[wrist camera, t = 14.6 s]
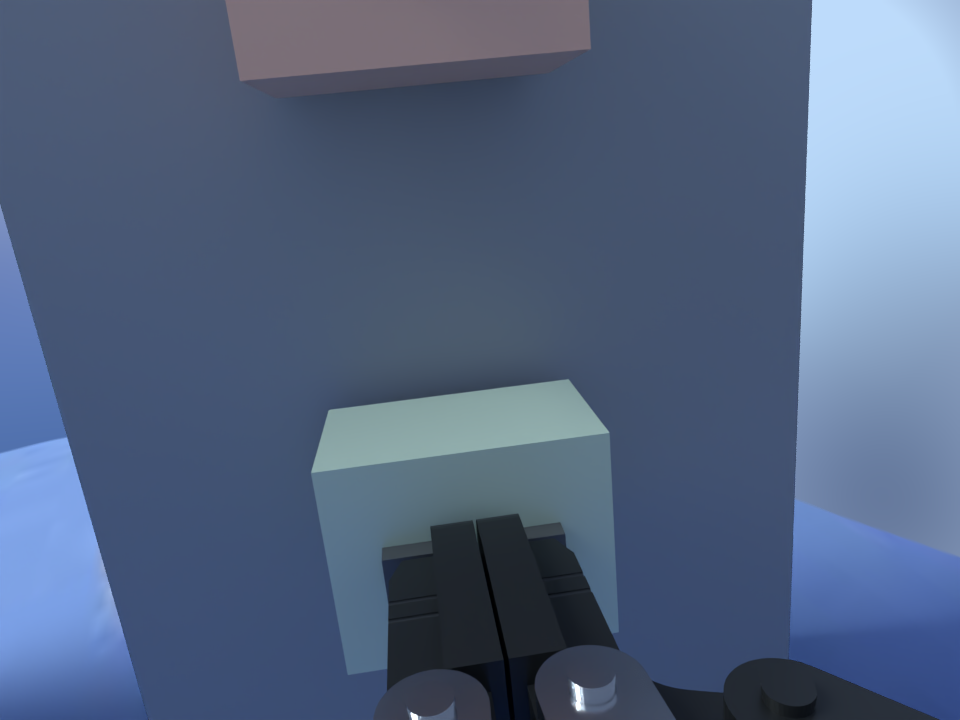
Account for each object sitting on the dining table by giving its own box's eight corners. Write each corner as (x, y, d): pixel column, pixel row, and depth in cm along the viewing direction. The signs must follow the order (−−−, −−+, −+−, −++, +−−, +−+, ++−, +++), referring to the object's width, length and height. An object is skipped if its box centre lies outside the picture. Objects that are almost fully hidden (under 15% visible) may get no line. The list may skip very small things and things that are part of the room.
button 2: (625, 646, 13) (616, 442, 11) (346, 690, 12) (307, 483, 11) (579, 546, 16) (568, 379, 15) (357, 579, 15) (328, 409, 14)
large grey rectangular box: (821, 816, 19) (883, -281, 12) (166, 937, 17) (-196, -222, 10) (698, 624, 26) (692, -108, 19) (237, 697, 25) (56, -61, 18)
